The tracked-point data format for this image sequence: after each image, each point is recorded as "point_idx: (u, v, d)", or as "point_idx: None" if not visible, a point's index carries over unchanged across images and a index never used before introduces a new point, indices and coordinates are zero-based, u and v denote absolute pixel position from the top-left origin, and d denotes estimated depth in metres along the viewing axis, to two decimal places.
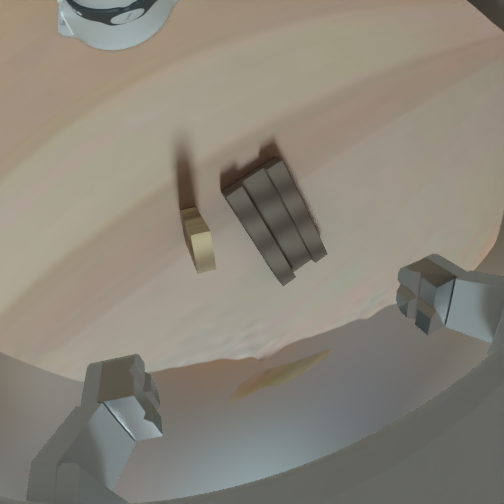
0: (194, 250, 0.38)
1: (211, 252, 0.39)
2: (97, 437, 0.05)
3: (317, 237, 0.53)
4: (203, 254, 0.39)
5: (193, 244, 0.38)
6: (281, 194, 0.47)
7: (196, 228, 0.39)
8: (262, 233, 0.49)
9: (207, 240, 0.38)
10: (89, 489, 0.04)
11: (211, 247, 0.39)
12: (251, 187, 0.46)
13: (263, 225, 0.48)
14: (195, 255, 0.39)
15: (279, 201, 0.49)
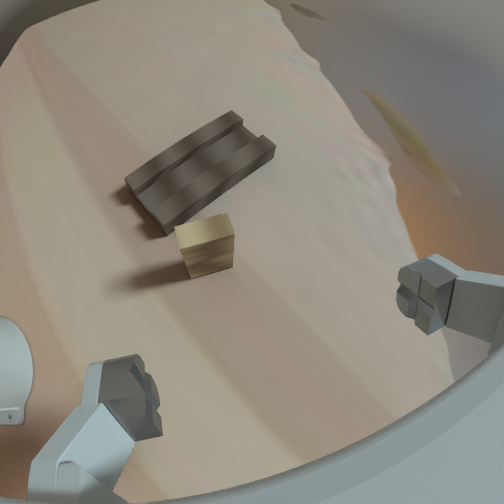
0: (200, 242, 0.30)
1: (203, 221, 0.30)
2: (97, 437, 0.05)
3: (211, 123, 0.44)
4: (206, 230, 0.30)
5: (192, 244, 0.29)
6: (160, 169, 0.40)
7: None
8: (207, 179, 0.40)
9: (187, 228, 0.30)
10: (89, 489, 0.04)
11: (196, 222, 0.30)
12: (157, 203, 0.40)
13: (197, 179, 0.40)
14: (207, 240, 0.30)
15: (173, 171, 0.42)
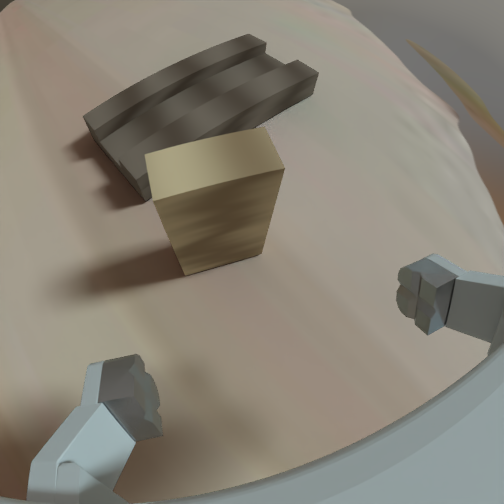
0: (204, 184, 0.12)
1: (211, 141, 0.13)
2: (97, 437, 0.05)
3: (220, 46, 0.27)
4: (218, 158, 0.12)
5: (184, 189, 0.12)
6: (140, 100, 0.23)
7: None
8: (214, 108, 0.23)
9: (173, 156, 0.12)
10: (89, 489, 0.04)
11: (195, 143, 0.13)
12: (131, 149, 0.23)
13: (198, 109, 0.23)
14: (222, 179, 0.12)
15: (160, 105, 0.25)
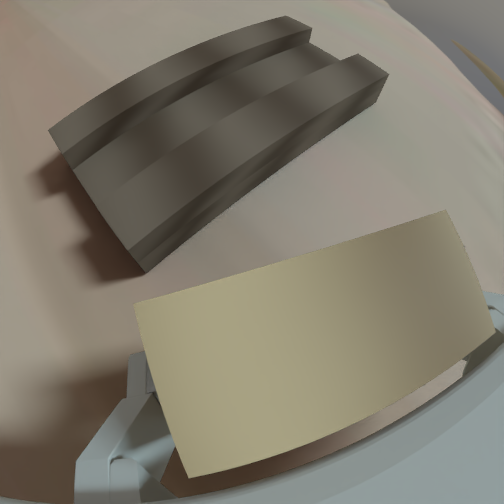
0: (339, 419, 0.04)
1: (340, 261, 0.04)
2: (146, 429, 0.05)
3: (250, 28, 0.18)
4: (370, 325, 0.04)
5: (280, 443, 0.03)
6: (133, 103, 0.15)
7: None
8: (254, 119, 0.14)
9: (228, 320, 0.04)
10: (146, 485, 0.04)
11: (294, 269, 0.04)
12: (120, 184, 0.14)
13: (228, 120, 0.14)
14: (383, 397, 0.04)
15: (165, 111, 0.16)
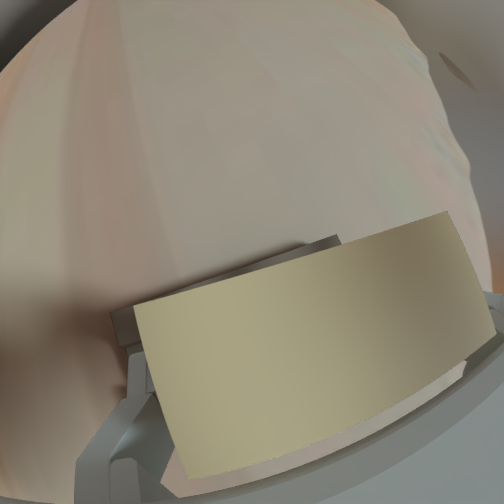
0: (340, 422, 0.04)
1: (341, 263, 0.04)
2: (147, 429, 0.05)
3: (293, 254, 0.25)
4: (371, 327, 0.04)
5: (280, 445, 0.03)
6: None
7: None
8: None
9: (229, 322, 0.04)
10: (147, 485, 0.04)
11: (295, 271, 0.04)
12: None
13: None
14: (384, 399, 0.04)
15: None
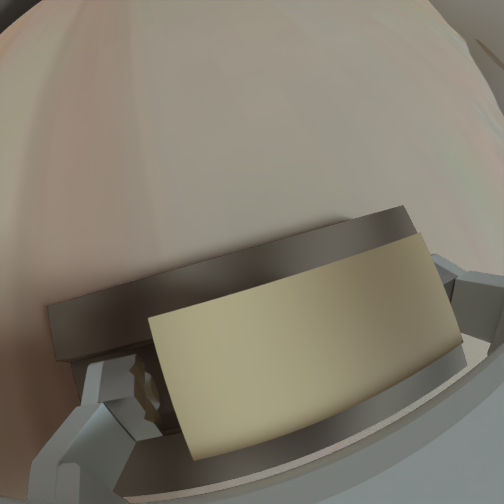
0: (317, 413, 0.04)
1: (320, 282, 0.05)
2: (97, 437, 0.05)
3: (343, 229, 0.15)
4: (344, 336, 0.05)
5: (268, 431, 0.04)
6: (140, 337, 0.13)
7: None
8: None
9: (226, 331, 0.05)
10: (89, 489, 0.04)
11: (281, 289, 0.05)
12: None
13: None
14: (355, 396, 0.05)
15: None
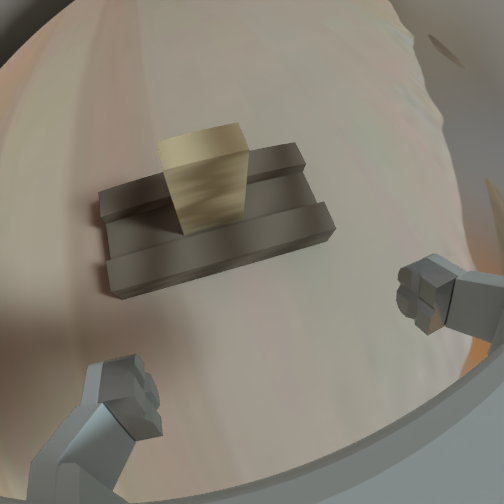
0: (196, 160, 0.18)
1: (201, 133, 0.19)
2: (97, 437, 0.05)
3: (254, 153, 0.29)
4: (206, 144, 0.19)
5: (182, 163, 0.18)
6: (147, 200, 0.26)
7: None
8: (203, 245, 0.25)
9: (175, 142, 0.18)
10: (89, 489, 0.04)
11: (190, 134, 0.19)
12: (125, 248, 0.26)
13: (189, 239, 0.25)
14: (207, 157, 0.18)
15: (168, 207, 0.28)
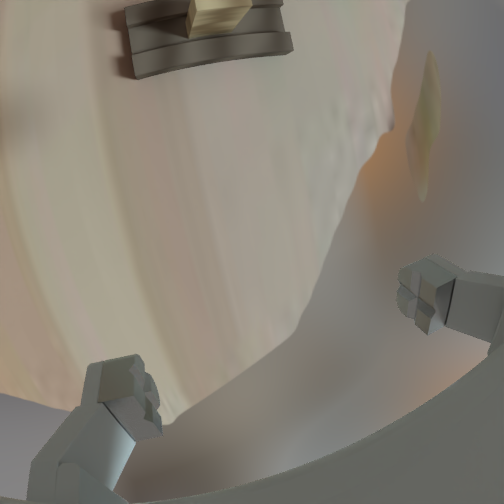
0: (218, 7, 0.22)
1: None
2: (97, 437, 0.05)
3: None
4: None
5: (210, 8, 0.22)
6: (165, 14, 0.27)
7: (193, 8, 0.23)
8: (203, 47, 0.30)
9: None
10: (89, 489, 0.04)
11: None
12: (144, 45, 0.29)
13: (193, 43, 0.30)
14: (225, 6, 0.22)
15: (178, 19, 0.29)
